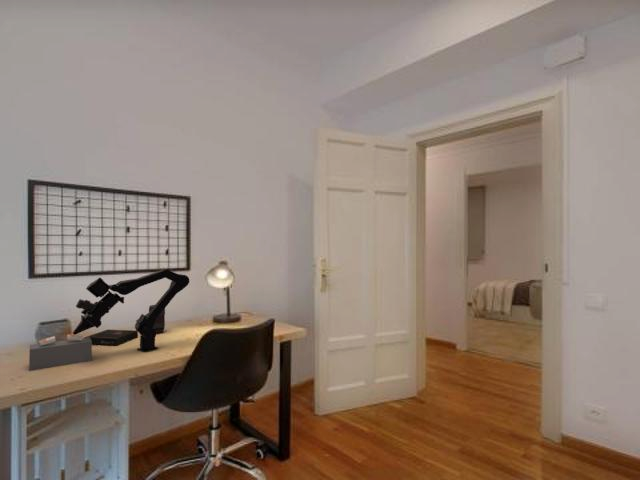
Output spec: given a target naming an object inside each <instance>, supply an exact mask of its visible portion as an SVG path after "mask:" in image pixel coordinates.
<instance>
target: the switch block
mask: <svg viewBox="0 0 640 480" xmlns="http://www.w3.org/2000/svg"><path fill="white" fill-rule="evenodd" d="M92 350H93V345H92V341H91V339H90V337H89V338H84V337H83V339H82V340H69V339H67V340H58V341H57V340H56V341H54V342H51V343H48V344H45V345H42V346H40V343H33V344H29V358H28V359H29V360H28V361H29V362H28V363H29V364H28V365H29V366H28V372H29V371H36V370H37V371H38V370H42V369H48V368H54V367H61V366H67V365H73V364H74V365H75V364H80V363H85V362H92Z"/></svg>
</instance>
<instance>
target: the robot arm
mask: <svg viewBox="0 0 640 480" xmlns="http://www.w3.org/2000/svg"><path fill="white" fill-rule="evenodd" d="M164 279H167V280H169V281H171V282H170V284H169V287H168V289H167V290H166V291H165V293H164V294H163V295H162V296H161V297H160V298H159V300H158V301H157V302H156V303H155V304H154V305H155V306H154V307H153V308H152V309H151V311H150V312H149V311H148V313H146V314H143V313H142V314H140V316H139V318H138V319H136V320H135V324H134V329H135V331H138V334H139V335H140V336H139V337H140V338H139V347H138V348H136V350H137V351H140V352H144V353H145V352H146V353H147V352H149V351H153V350H156V349H157V350H158V349H159V347H158V346H156V336H157V335H158V334H157V332H156V331H155V330H153V329H152V328H153V326H154V324H155V321H156V319H157V317H158V316H159V315H160V314H161V312H162V311H163V310H164V309H165V310H166V307H167V306H168V305H169V304H170V302H171V301H172V300H173V299H174V297H175V296H176V295H177V294H178V293H180V292H181V291H182V290H184V289H185V288H186V287H187V286H188V285H190V278H189V276H188V275H186V274H182V273H177V272H174V271H171V270H170V269H167V268H162V269H160V270H158V271H155V272H151V273H149V274H146V275H144V276H143V275H142V276H140V277H136V278H130V279H124V280H120V281H118V282H116V283H115V284H108V283H107V282H105V281H104V279H102V278H101V277H98V278H97V279H95V280H94V281H92V282H91V283H89V284H88V286H87V287H86V288H85V289H86V290H87V291H88V292H89V293H90V294H91V295H93V296H94V297H95V298H101V299H100V300H98V301H95V302H94V303H92V302H91V301H90V300H88V299H85V300H83V299H81V298H79V300H78V301H77V302H76V305H75V308H77V309H82V310H81V311H80V313H81V315H80V319H81V320H80V322H79V323H78V325H76V327H75V329H74V330H73V332H72V335H78V334H80V333H82V332H84V331H87V330H89V329H91V328H96V329H98V328H100V327H101V326H102V318H103V317H104V316H105V315H106V314H109V313H110V310H111V309H112V308H114V306H115V305H117V304H118V303H119V302H120V303H121V304H122V305H123V304H124V303H125V296H126V295H129V294H131V293H132V292H134V291H136V290H137V289H139V288H141V287H144V286H146V285H149V284H151V283H154V282H157V281H160V280H164ZM112 292H114V293H112ZM82 314H83V315H82Z"/></svg>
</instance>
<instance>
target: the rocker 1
mask: <svg viewBox="0 0 640 480" xmlns="http://www.w3.org/2000/svg"><path fill="white" fill-rule="evenodd" d="M51 342H57V340H56V336H55V335H53V336H50V337H47V338H43V339H40V340H39V342H38V343H39V344H40V346H42V345H45V344H48V343H51Z"/></svg>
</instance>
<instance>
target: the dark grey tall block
mask: <svg viewBox="0 0 640 480" xmlns="http://www.w3.org/2000/svg"><path fill="white" fill-rule="evenodd" d="M155 305H156V304H152V305H149V306H148V313H149V312H150V311H151V309H152V308H153V307H154V306H155ZM165 315H166V308H165V309H164V310H163V311H162V312H161V314H160V315H159V316H158V317H157V319H156V321H155V324H154V326H153V328H152V329H153V330H155V331H156V332H157V334H156V335H160V334H164V330H165V326H166V323H165V321H166V320H165V318H166V317H165Z"/></svg>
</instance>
